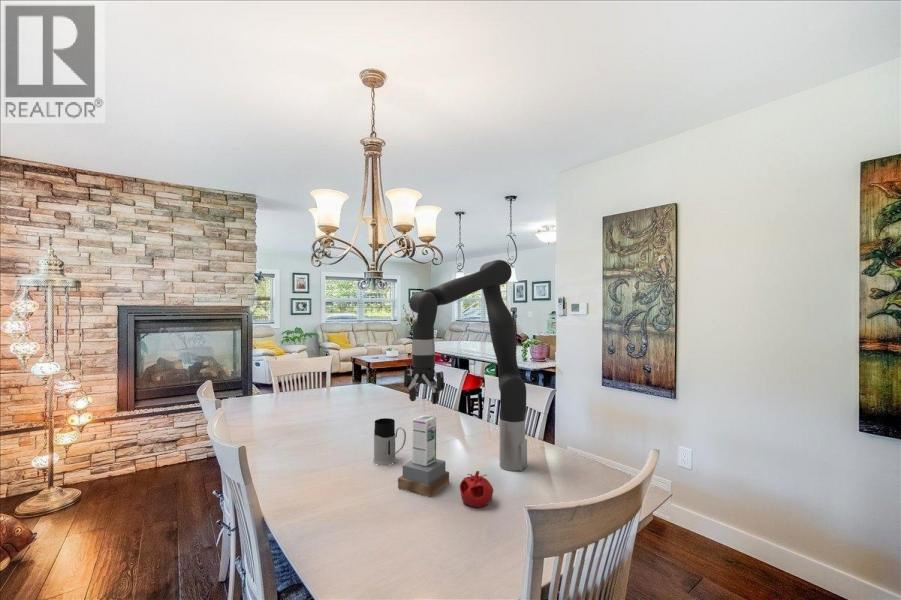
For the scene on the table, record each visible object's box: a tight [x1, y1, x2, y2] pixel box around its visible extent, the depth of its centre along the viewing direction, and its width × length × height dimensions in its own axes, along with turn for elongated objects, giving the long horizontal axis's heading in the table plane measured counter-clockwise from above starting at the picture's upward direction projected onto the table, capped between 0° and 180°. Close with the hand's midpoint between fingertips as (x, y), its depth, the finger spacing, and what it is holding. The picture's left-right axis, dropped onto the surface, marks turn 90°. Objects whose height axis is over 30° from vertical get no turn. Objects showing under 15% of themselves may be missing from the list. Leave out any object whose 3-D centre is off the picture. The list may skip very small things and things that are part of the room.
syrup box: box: [411, 414, 437, 466], centre depth 131 cm, size 6×6×14 cm
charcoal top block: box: [402, 458, 447, 485], centre depth 130 cm, size 10×10×4 cm
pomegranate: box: [459, 470, 494, 508], centre depth 120 cm, size 10×10×9 cm
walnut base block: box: [397, 470, 450, 498], centre depth 131 cm, size 12×12×4 cm
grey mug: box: [372, 417, 407, 466], centre depth 150 cm, size 9×14×15 cm, turn 59°
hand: (423, 402), depth 131 cm, fingers open, 8 cm apart
